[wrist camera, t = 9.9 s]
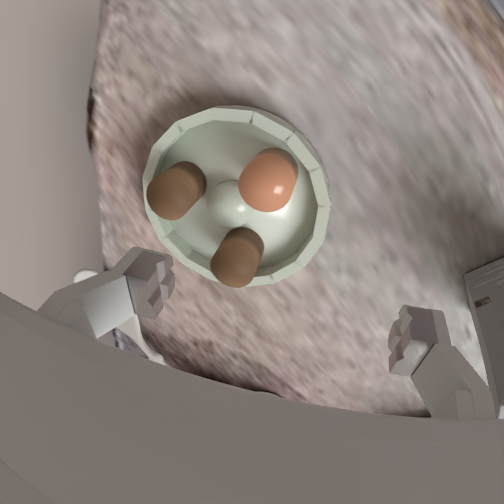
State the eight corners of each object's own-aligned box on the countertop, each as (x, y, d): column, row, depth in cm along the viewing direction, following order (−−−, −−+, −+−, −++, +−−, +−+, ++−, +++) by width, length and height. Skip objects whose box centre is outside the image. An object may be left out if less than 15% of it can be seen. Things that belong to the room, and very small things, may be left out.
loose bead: (253, 144, 25) (239, 157, 22) (301, 151, 25) (295, 165, 21) (250, 188, 28) (237, 207, 24) (295, 195, 27) (288, 216, 24)
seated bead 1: (166, 159, 28) (144, 174, 25) (206, 163, 27) (187, 178, 24) (168, 198, 30) (148, 216, 27) (206, 203, 30) (189, 223, 26)
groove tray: (152, 102, 26) (138, 106, 24) (344, 118, 23) (344, 124, 21) (162, 254, 36) (152, 266, 34) (312, 284, 33) (310, 300, 31)
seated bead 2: (224, 223, 30) (209, 245, 27) (266, 231, 30) (255, 254, 26) (223, 258, 32) (210, 282, 29) (262, 265, 32) (252, 291, 29)
